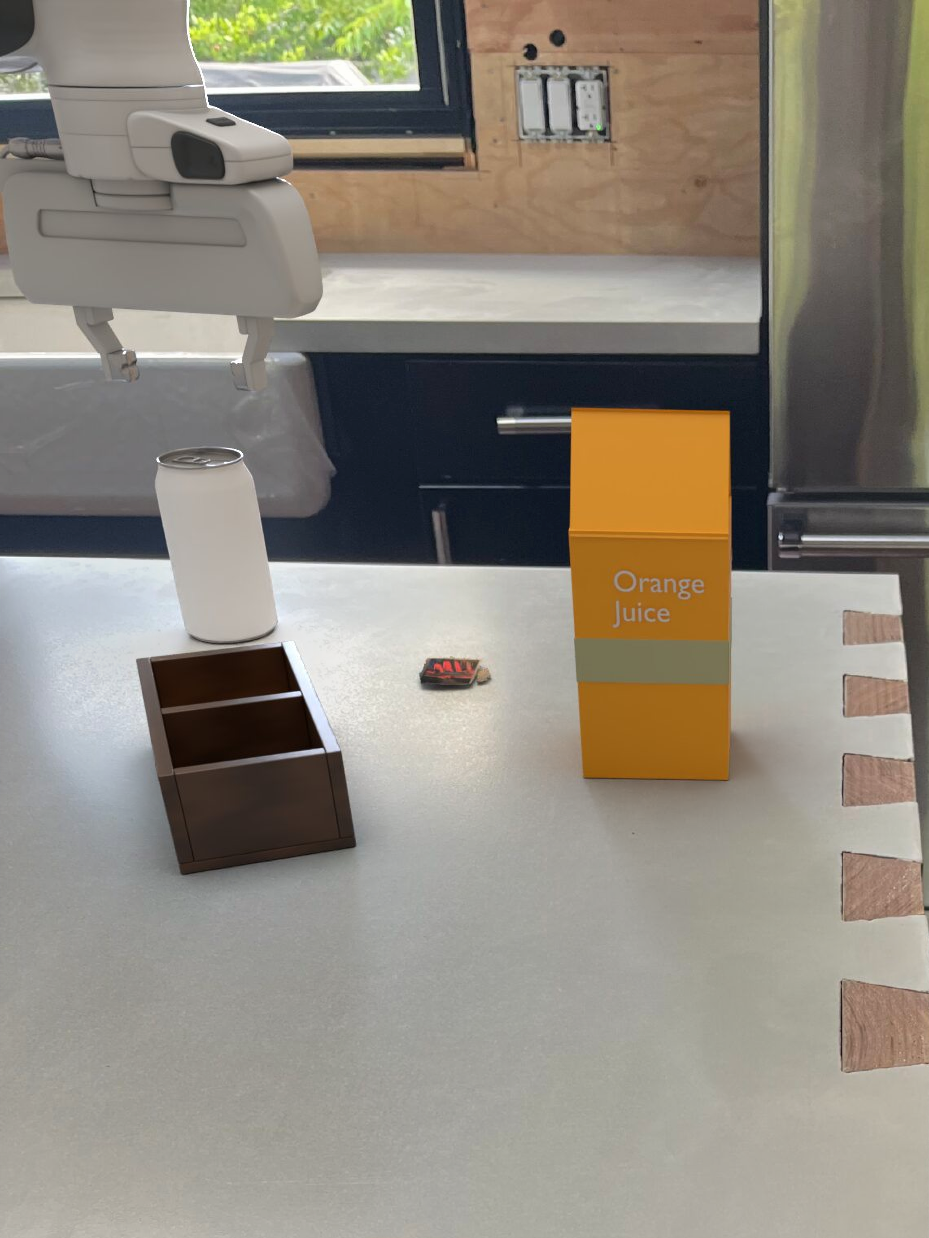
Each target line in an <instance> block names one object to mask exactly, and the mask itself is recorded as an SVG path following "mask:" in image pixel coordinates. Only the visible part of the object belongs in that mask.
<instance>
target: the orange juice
mask: <svg viewBox="0 0 929 1238" xmlns="http://www.w3.org/2000/svg"><path fill="white" fill-rule="evenodd" d="M570 409H571V424H570V425H571V426H570V430H571V431H570V432H571V433H570V435H571V436H570V493H569V494H570V495H569V496H570V500H569V501H570V502H569V503H570V504H569V505H570V506H569V508H570V509H569V528H568V547H569V562H570V564H569V565H570V580H571V594H572V595H571V596H572V597H571V598H572V612H573V631H574V632H573V633H574V637H573V642H574V644H573V645H574V659H575V660H574V661H575V677H576V678H575V679H576V683H577V697H578V711H579V712H578V713H579V714H578V715H579V730H580V747H581V763H582V764H581V765H582V778H588V779H593V778H594V779H596V778H597V779H642V780H643V779H646V780H649V779H650V780H652V779H653V780H659V779H660V780H704V781H705V780H706V781H707V780H709V781H729V776H730V775H729V774H730V772H729V771H730V754H731V735H732V645H733V644H732V643H733V642H732V641H733V597H732V559H733V555H732V484H731V483H732V482H731V481H732V480H731V476H732V475H731V469H732V468H731V411H730V410H702V409H701V410H699V409H698V410H696V409H653V408H652V409H650V408H649V409H648V408H608V407H607V408H602V407H571V408H570Z"/></svg>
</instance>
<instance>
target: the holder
mask: <svg viewBox="0 0 929 1238" xmlns="http://www.w3.org/2000/svg"><path fill="white" fill-rule="evenodd" d="M135 664H136V668H137V675H138V679H139V685H140V691H141V695H142V700H143V705H144V711H145V717H146V720H147V727H148V732H149V736H150V743H151V748H152V754H153V759H154V765H155V769H156V776H157V781H158V785H159V789H160V793H161V797H162V801H163V805H164V810H165V813H166V814H165V815H166V818H167V822H168V827H169V830H170V834H171V839H172V844H173V847H174V852H175V856H176V860H177V864H178V868H179V873H180V874H181V875H186V874H191V873H197V872H198V873H199V872H204V871H210V870H211V871H212V870H216V869H222V868H223V869H224V868H229V867H234V866H241V865H247V864H248V865H249V864H253V863H259V862H267V861H271V860H272V861H273V860H279V859H285V858H291V857H297V856H303V855H310V854H316V853H322V852H327V851H328V852H329V851H333V850H340V849H346V848H347V849H348V848H353V847H356V846H357V839H356V834H355V828H354V821H353V815H352V808H351V802H350V796H349V795H350V794H349V789H348V784H347V776H346V770H345V765H344V758H343V752H342V749H341V746H340V744H339V742H338V740H337V738H336V736H335V733H334V731H333V729H332V726H331V723H330V721H329V719H328V716H327V714H326V712H325V710H324V707H323V705H322V703H321V701H320V698H319V696H318V694H317V691H316V689H315V687H314V685H313V683H312V680H311V678H310V675H309V673H308V671H307V668H306V666H305V664H304V661H303V659H302V656H301V653H300V651H299V649H298V647H297V645H296V642H295V641H294V640H288V641H287V640H286V641H281V642H280V641H277V642H270V643H261V644H251V645H244V646H242V645H241V646H236V647H235V646H234V647H226V648H218V649H208V650H198V651H191V652H183V653H173V654H172V653H171V654H165V655H155V656H149V657H140V658H135Z"/></svg>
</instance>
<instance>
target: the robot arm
mask: <svg viewBox="0 0 929 1238" xmlns="http://www.w3.org/2000/svg"><path fill="white" fill-rule="evenodd" d="M189 7H190V0H0V74H4V75H17V74H32V73H44V76H45V80H46V84H47V89H48V93H49V97H50V102H51V105H52V111H53V114H54V120H55V124H56V128H57V134H58V137H59V138H44V139H32V138H31V137H23V136H20V137H19V136H18V137H14V138H11V139H9V141H8V145H5V146H4V147H2V148H1V149H0V195H1V198H2V213H3V223H4V232H5V239H6V245H7V251H8V257H9V261H10V262H9V263H10V269H11V273H12V277H13V281H14V284H15V287H16V288H17V289H18V290H19V291H20V293H21V294H22V295H23V297H25V299H27V301H28V302H30V303H31V304H34V305H50V306H66V307H67V306H68V307H72V309H73V310H72V311H73V314H74V319H75V322H76V326H77V327H78V328H79V330H80V331H81V333H82V334H83V336H85V338H86V339H87V340H88V342H89V343H90V344H91V346H92V347H93V349H94V350H95V352H97V354H99V356H100V360H101V364H102V369H103V373H104V377H105V379H106V380H107V381H108V382H113V383H132V382H135V381H137V380H139V378H140V376H141V375H140V368H139V366H138V365H137V362H138V357H137V354H136V353H137V352H136V350H135V349H127V348H124V346H123V345H122V342H121V341H120V340H119V338H118V336H117V334H116V333H115V332H114V330H113V329H112V327H111V326H110V324H109V322H110V321H113V320H115V317H114V316H115V315H114V313H113V309H118V310H136V311H150V312H151V311H152V312H167V313H168V312H169V313H170V312H171V313H186V314H204V315H217V316H219V315H220V316H235V317H236V323H237V327H238V333H239V334H240V335H246V336H247V339H246V342H245V346H244V350H243V352H242V353H243V354H242V357H240V358H238V359H235V360H232V361H230V362H229V365H230V371H231V374H232V375H233V377H234V378H233V381H232V382H233V386H234V388H235V389H236V390H237V391H243V392H261V391H263V390H266V389H267V388H268V383H269V380H268V374H267V368H266V362H265V359H266V358H267V357H268V353H269V350H270V347H271V345H272V342H273V339H274V336H275V333H276V331H277V330H276V325H275V324H276V323H275V319H291V320H292V319H296V318H300V317H303V316H306V315H308V314H311V313H313V312H315V311H316V310H317V307H318V306H319V304H320V302H321V300H322V298H323V294H324V283H323V276H322V270H321V265H320V259H319V254H318V249H317V248H318V247H317V244H316V240H315V234H314V231H313V225H312V223H311V218H310V214H309V212H308V208H307V206H306V204H305V202H304V199H303V198H302V196H301V194H300V192H299V191H298V190H297V189H296V187H295V186H294V185H292V184H291V183H290V182H289V181H287V180H285V179H283V178H281V177H284V176H285V177H286V176H288V175H290V174H291V173H292V172H293V169H294V157H293V156H294V155H293V151H292V147H291V144H290V142H289V141H288V139H287V138H285V137H284V136H283V135H281V134H279V133H276V132H274V131H271V130H270V129H267V128H264V127H263V126H259V125H257V124H255V123H252V122H249V121H248V120H245V119H242V118H240V117H237V116H235V115H233V114H231V113H229V112H226V111H224V110H222V109H220V108H218V107H216V106H214V105H211V104H209V102H208V96H207V91H206V86H205V79H204V76H203V73H202V70H201V68H200V65H199V62H198V61H197V59H196V57H195V53H194V51H193V46H192V43H191V38H190V34H189V33H190V32H189ZM9 154H11V155H12V156H13V157H9V156H8V155H9Z"/></svg>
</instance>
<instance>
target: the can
mask: <svg viewBox="0 0 929 1238" xmlns="http://www.w3.org/2000/svg"><path fill="white" fill-rule="evenodd" d="M243 458H244V454H243V453H242V451H240V450H237V449H234V448H229V447H223V446H195V447H184V448H178V449H173V450H168V451H166V452H163V453H161V454H159V455H158V456H157V457H156V459H155V462H156V463H157V466H158V467H157V472H156V476H155V480H154V487H155V493H156V499H157V504H158V508H159V513H160V514H159V515H160V518H161V523H162V528H163V532H164V537H165V543H166V547H167V552H168V555H169V561H170V567H171V571H172V576H173V580H174V584H175V589H176V594H177V599H178V604H179V608H180V613H181V616H182V622H183V625H184V629H185V631H186V632H187V633H188V634H189V635H191V637H192V638H194V639H195V640H198V641H201V642H204V643H211V644H236V643H243V642H249V641H253V640H258V639H261V638H264V637H265V636H267V635H269V634H270V633H271V632H272V631H274V629H275V627H276V625H277V624H278V622H279V621H278V620H279V618H278V612H277V605H276V599H275V593H274V587H273V582H272V576H271V570H270V565H269V557H268V553H267V548H266V542H265V536H264V531H263V530H264V529H263V524H262V520H261V513H260V508H259V501H258V497H257V491H256V486H255V482H254V477H253V475H252V473H251V472H250V470H249V469H248V467H247V466H246V465H245V463H244V460H243Z"/></svg>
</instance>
